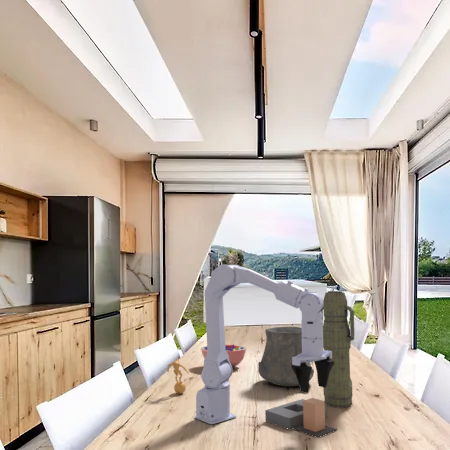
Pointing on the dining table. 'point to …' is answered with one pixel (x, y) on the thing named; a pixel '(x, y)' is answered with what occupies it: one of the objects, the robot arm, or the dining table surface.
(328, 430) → the coaster
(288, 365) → the vessel
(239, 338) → the dining table surface
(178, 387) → the figurine
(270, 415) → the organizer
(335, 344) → the thermos
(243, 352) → the cell model
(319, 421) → the terracotta block
